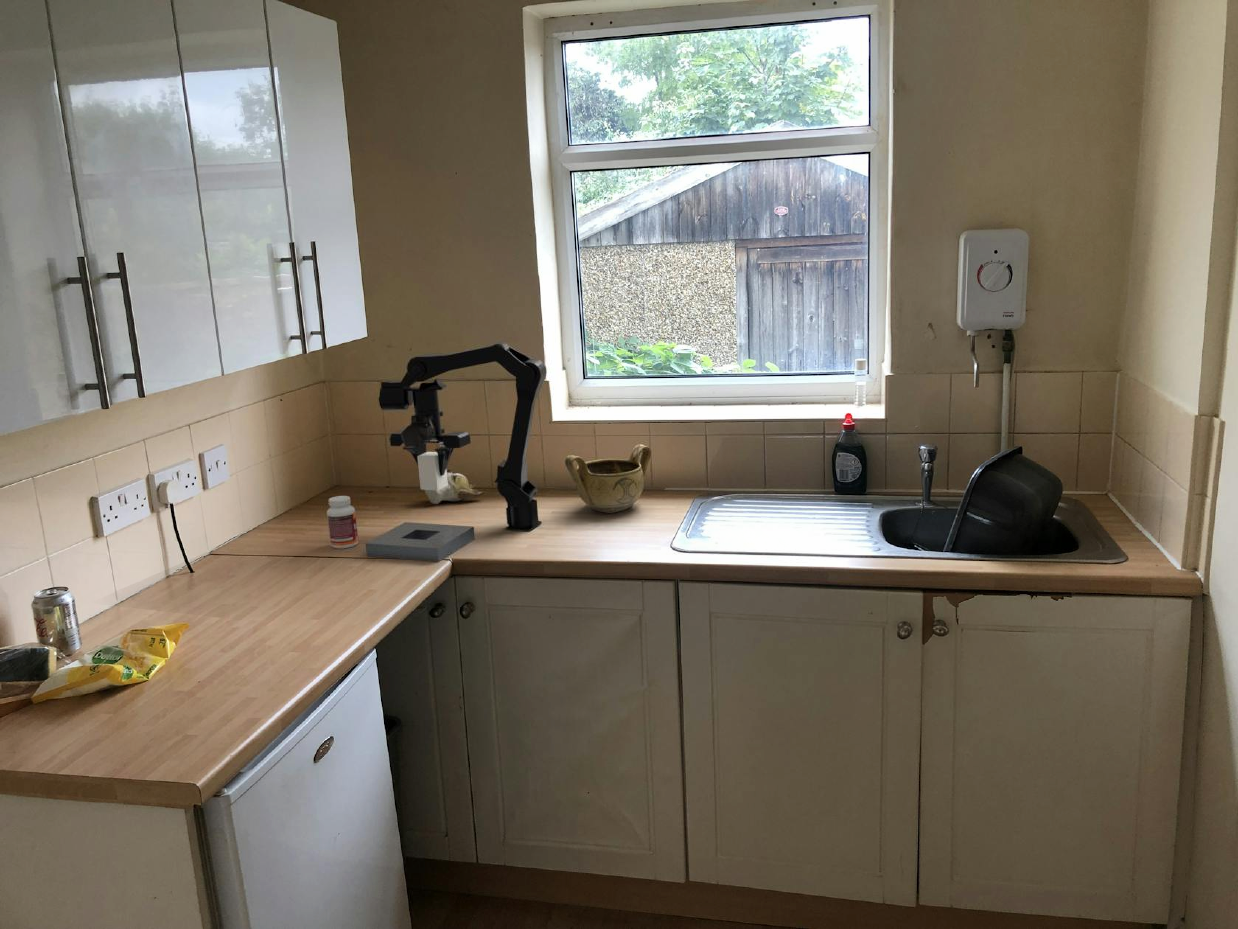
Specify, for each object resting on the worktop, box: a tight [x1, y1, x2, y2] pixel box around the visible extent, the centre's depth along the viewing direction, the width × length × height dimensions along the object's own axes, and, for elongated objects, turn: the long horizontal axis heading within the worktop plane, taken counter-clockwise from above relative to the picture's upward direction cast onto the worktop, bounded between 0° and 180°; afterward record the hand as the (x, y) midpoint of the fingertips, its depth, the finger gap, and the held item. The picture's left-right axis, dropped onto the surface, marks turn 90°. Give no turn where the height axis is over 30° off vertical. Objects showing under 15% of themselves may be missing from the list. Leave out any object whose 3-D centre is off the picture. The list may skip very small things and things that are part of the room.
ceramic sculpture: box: [424, 469, 486, 505], centre depth 259 cm, size 11×9×15 cm
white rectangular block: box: [417, 451, 448, 491], centre depth 232 cm, size 5×5×8 cm
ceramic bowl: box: [564, 443, 652, 514], centre depth 242 cm, size 22×17×15 cm
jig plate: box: [365, 521, 476, 563], centre depth 221 cm, size 18×16×3 cm
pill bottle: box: [326, 495, 359, 550], centre depth 225 cm, size 6×6×11 cm
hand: (433, 474), depth 233 cm, fingers closed on white rectangular block, 5 cm apart
